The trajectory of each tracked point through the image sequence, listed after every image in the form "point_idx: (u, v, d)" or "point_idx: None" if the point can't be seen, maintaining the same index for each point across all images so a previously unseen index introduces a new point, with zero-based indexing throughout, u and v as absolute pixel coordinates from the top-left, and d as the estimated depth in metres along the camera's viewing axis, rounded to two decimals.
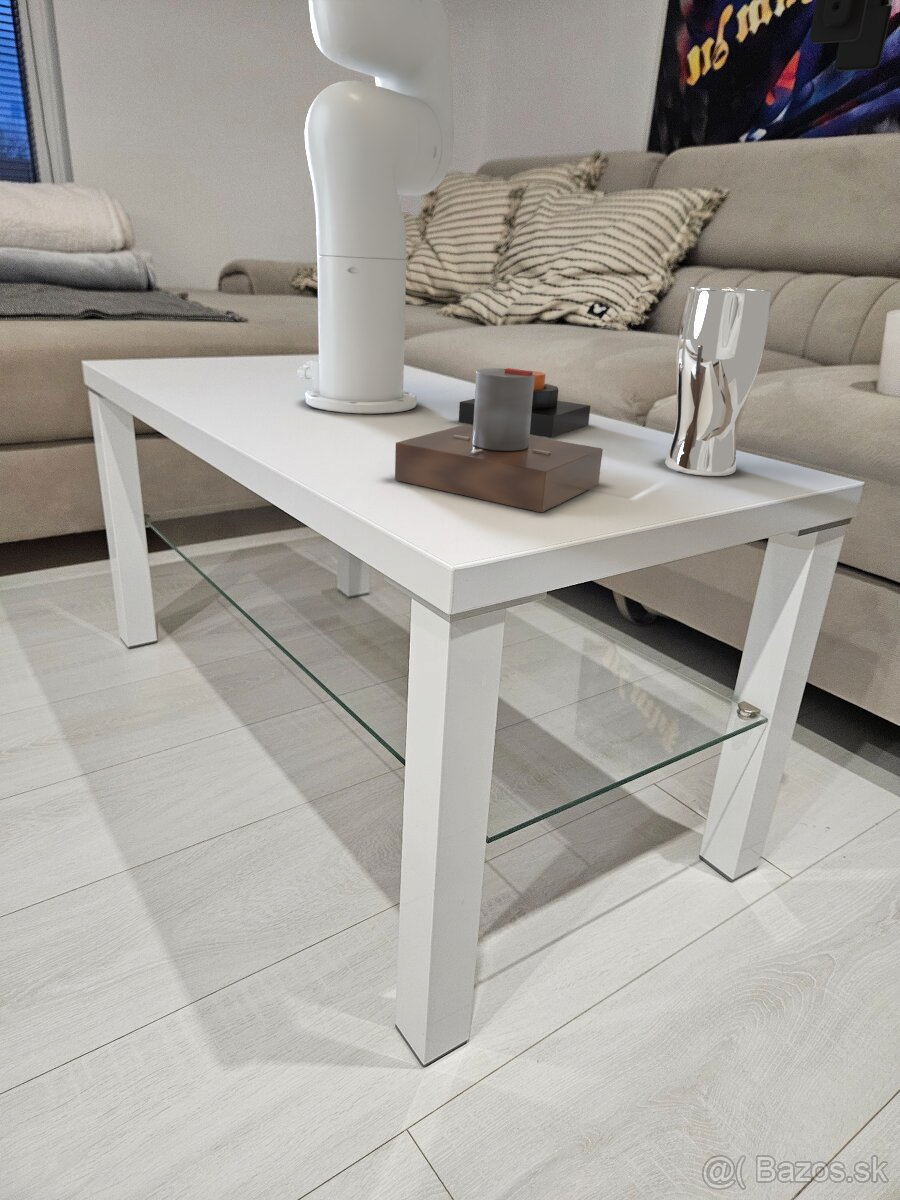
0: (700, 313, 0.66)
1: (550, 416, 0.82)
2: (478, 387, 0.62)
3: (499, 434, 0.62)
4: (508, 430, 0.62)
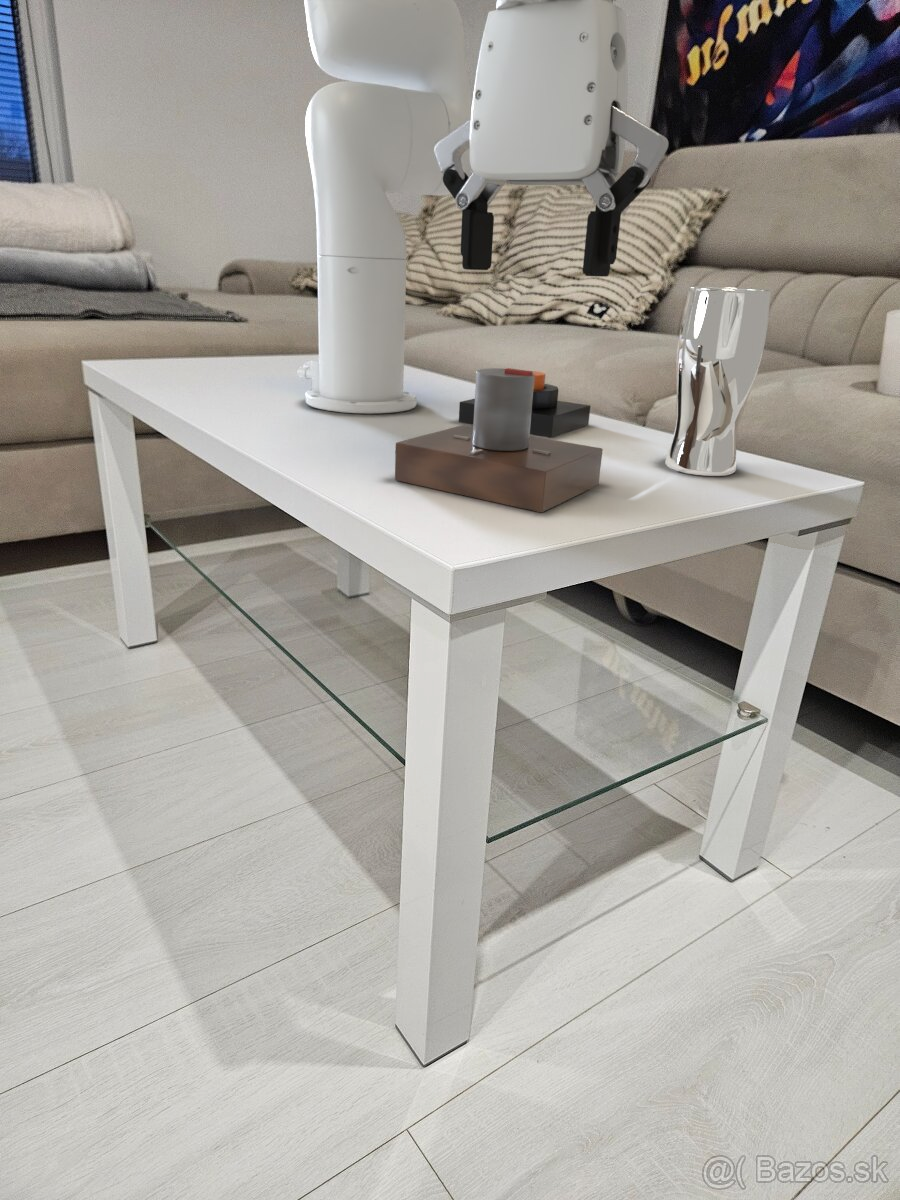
0: (700, 313, 0.66)
1: (550, 416, 0.82)
2: (478, 387, 0.62)
3: (499, 434, 0.62)
4: (508, 430, 0.62)
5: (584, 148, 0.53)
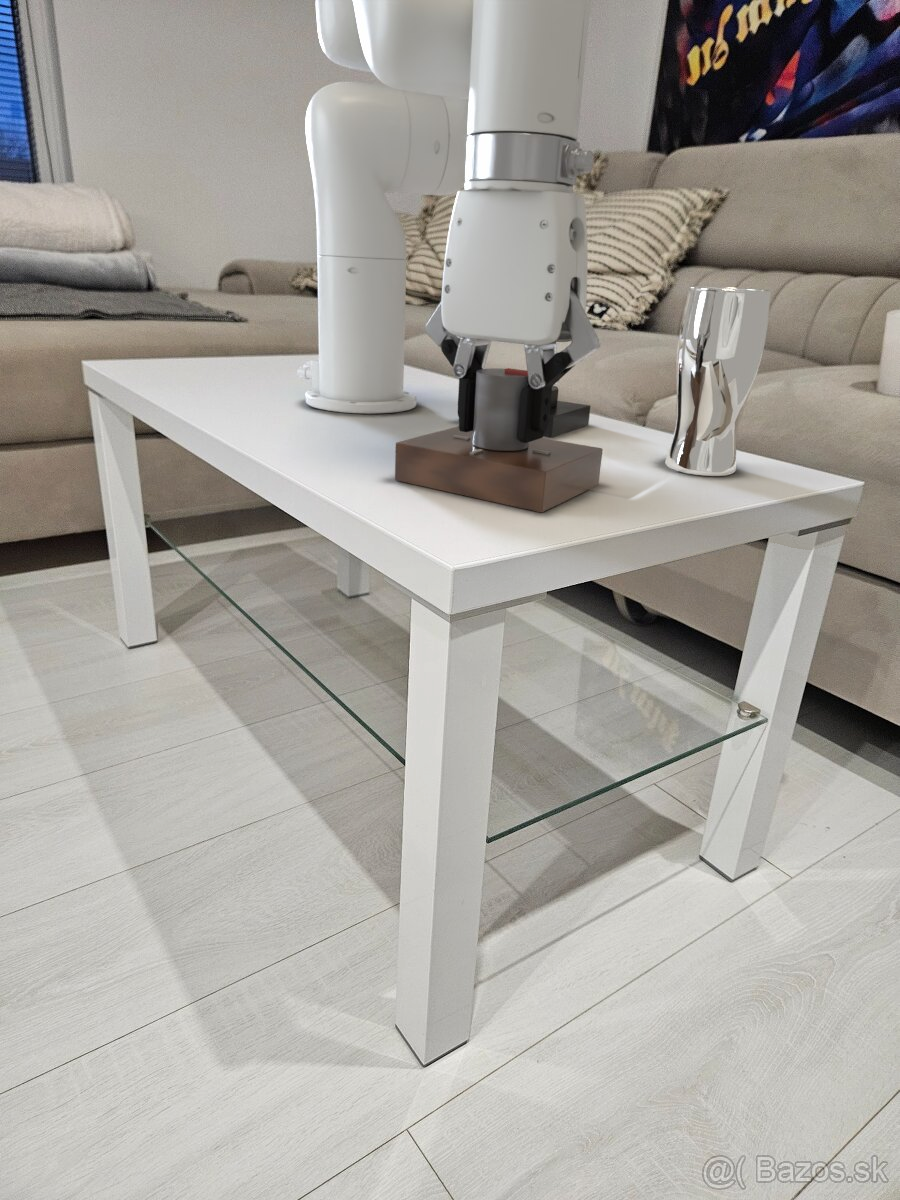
0: (700, 313, 0.66)
1: (550, 416, 0.82)
2: (478, 387, 0.62)
3: (499, 434, 0.62)
4: (508, 430, 0.62)
5: (545, 321, 0.57)
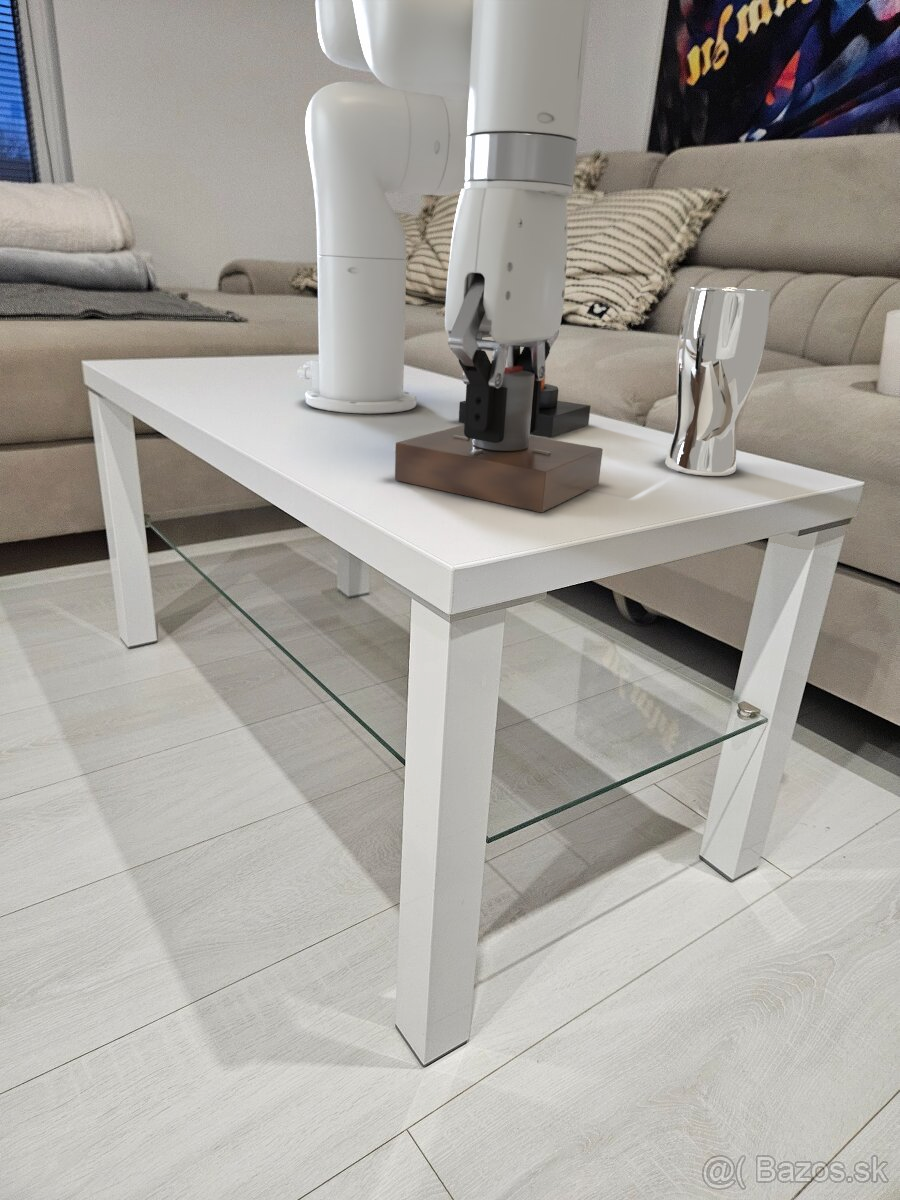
0: (700, 313, 0.66)
1: (550, 416, 0.82)
2: (517, 391, 0.61)
3: (529, 430, 0.64)
4: None
5: (559, 316, 0.63)
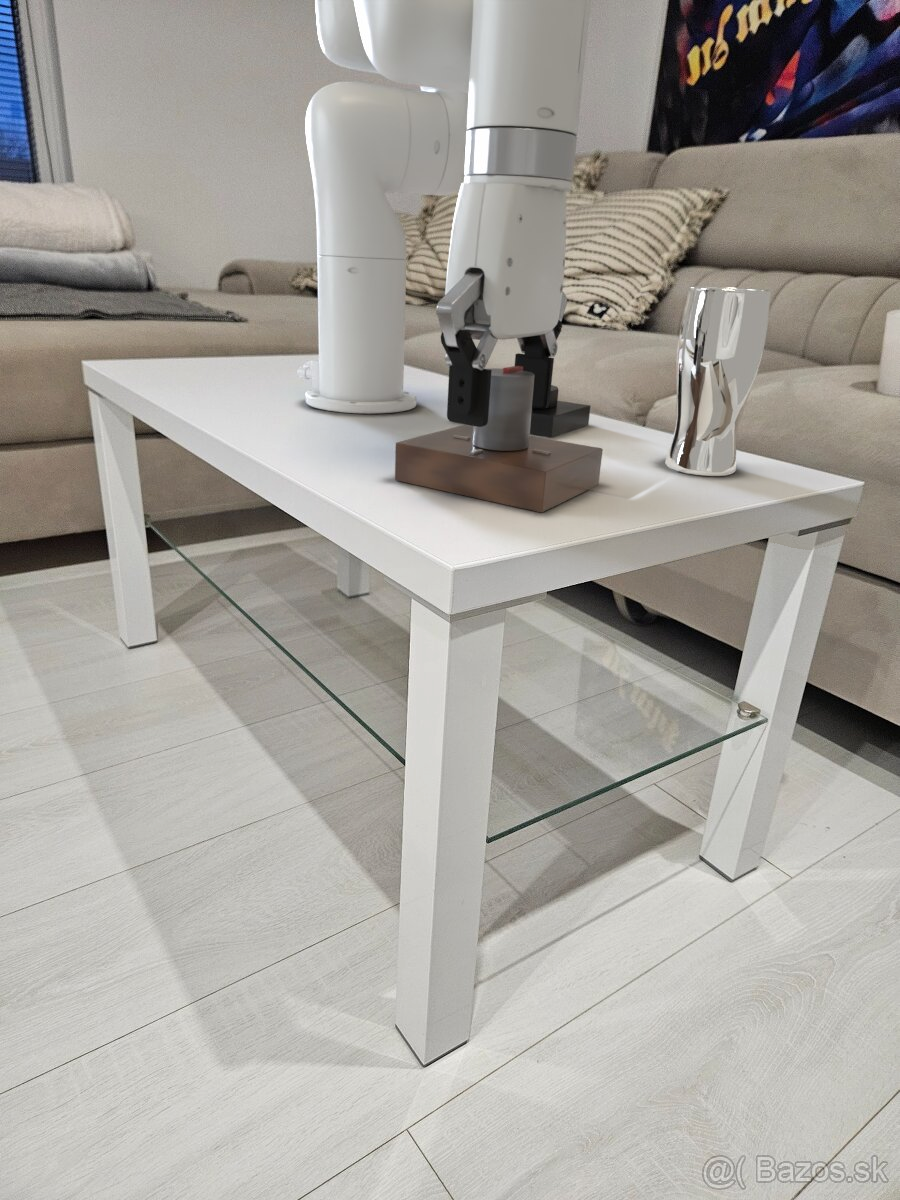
0: (700, 313, 0.66)
1: (550, 416, 0.82)
2: (517, 391, 0.61)
3: (529, 431, 0.64)
4: None
5: (557, 310, 0.63)
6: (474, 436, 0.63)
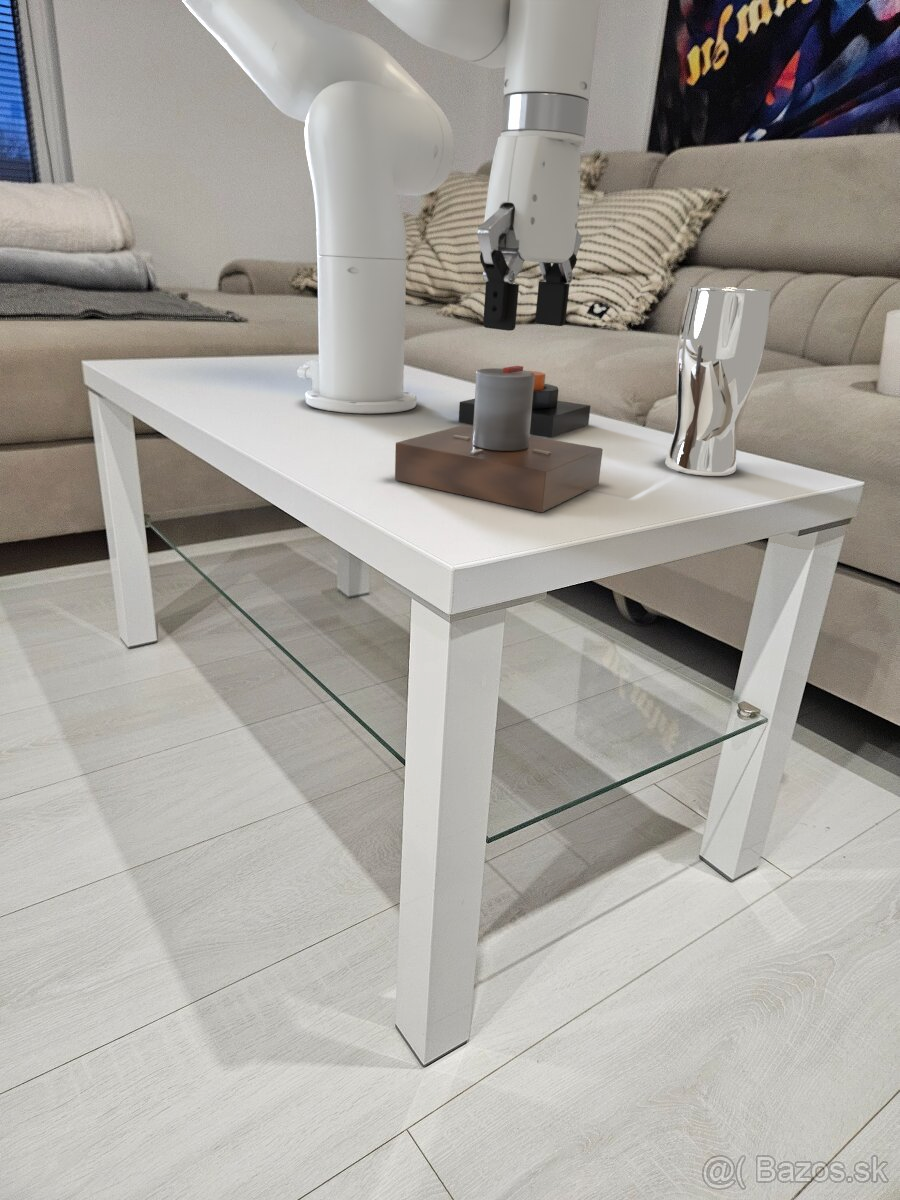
0: (700, 313, 0.66)
1: (550, 416, 0.82)
2: (517, 391, 0.61)
3: (529, 431, 0.64)
4: None
5: (572, 243, 0.79)
6: (474, 436, 0.63)
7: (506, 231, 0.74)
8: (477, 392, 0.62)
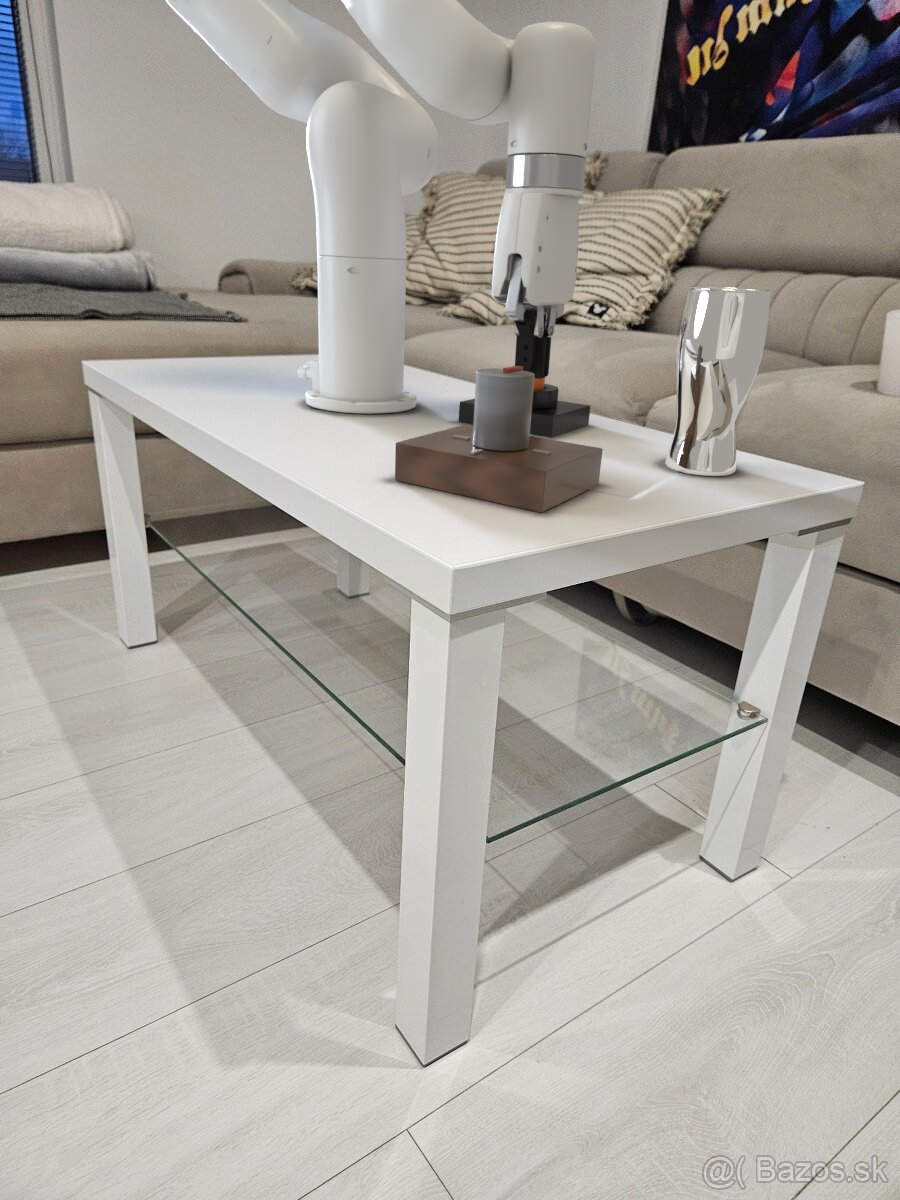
0: (700, 313, 0.66)
1: (550, 416, 0.82)
2: (517, 391, 0.61)
3: (529, 431, 0.64)
4: None
5: (573, 286, 0.85)
6: (474, 436, 0.63)
7: None
8: (477, 392, 0.62)
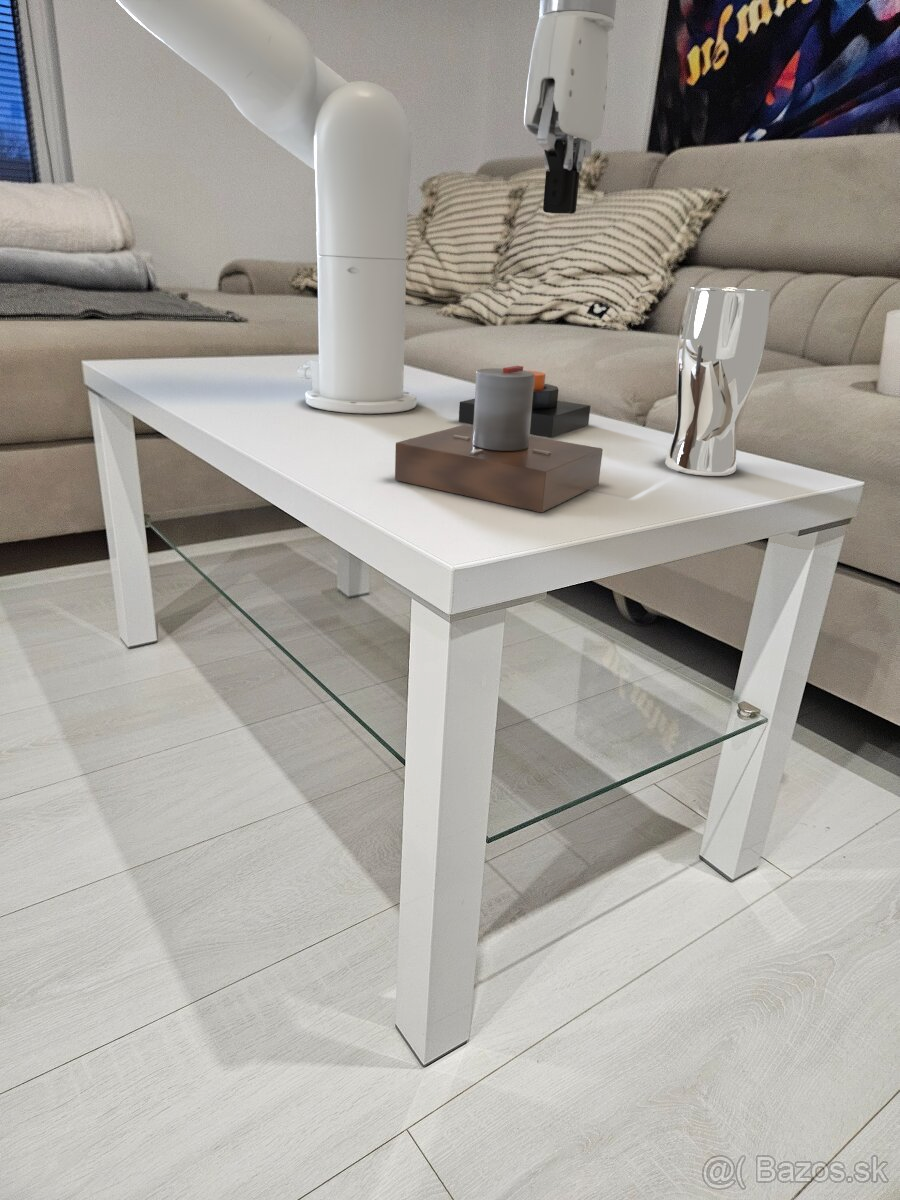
0: (700, 313, 0.66)
1: (550, 416, 0.82)
2: (517, 391, 0.61)
3: (529, 431, 0.64)
4: None
5: (601, 124, 0.88)
6: (474, 436, 0.63)
7: None
8: (477, 392, 0.62)
